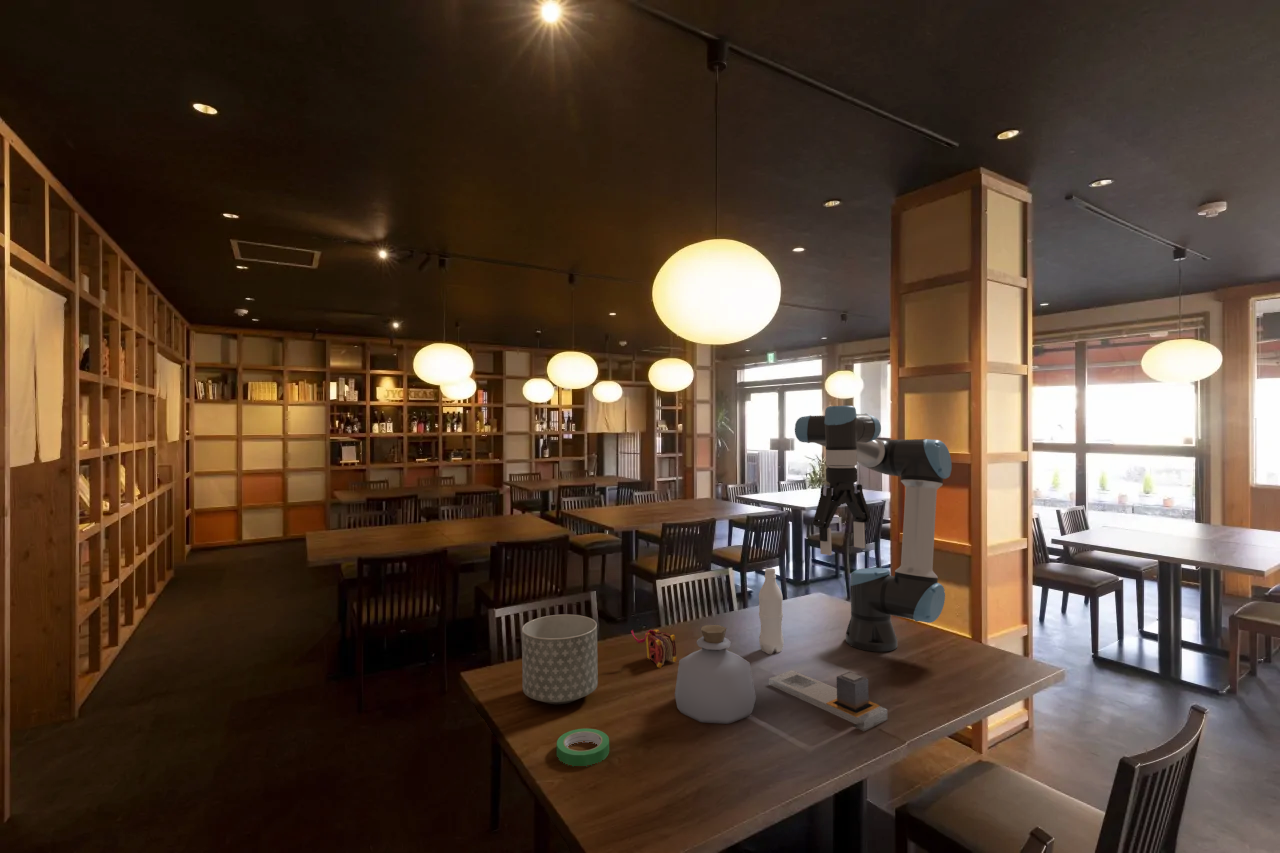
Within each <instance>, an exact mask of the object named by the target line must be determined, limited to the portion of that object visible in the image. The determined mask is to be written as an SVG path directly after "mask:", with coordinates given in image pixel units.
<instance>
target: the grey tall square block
mask: <svg viewBox="0 0 1280 853" xmlns="http://www.w3.org/2000/svg"><path fill="white" fill-rule="evenodd" d="M836 688H837V705H839V706H841V707H843V708H845V709H848V710H850V711H852V712H855V713H858V712H860V711H862V710H865V709H867V708H869V701H870V700H869V678H868V677H866V676H863V675H860V674H857V673H855V672H852V671H847V672H844V673H843V674H840V675H838V676H836Z"/></svg>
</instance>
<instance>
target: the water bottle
mask: <svg viewBox="0 0 1280 853" xmlns="http://www.w3.org/2000/svg"><path fill="white" fill-rule="evenodd" d="M764 573H765V574H764V582H763V584H762V585H761V586H762V587H761V588H760V590H759V593H758V599H759V600H758V604H759V606H758V608H759V610H758V611H759V612H758V616H759V619H760V620H759V621H760V633H759V639H758V640H759V647H760V650H761V651H762V652H763V653H765V654H767V655H773V653H775V654H777V653H781V652H782V650H783V648H784V645H785V644H784V640H785V639H784V635H783V628H782V626H783V617H784V611H783V597H784V596H783V593H782V590H781V588H780V587H779V584H778V583H777V581H776V578H777V576H776V569H775V568H769V567H768V568H765V570H764Z"/></svg>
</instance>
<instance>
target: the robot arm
mask: <svg viewBox="0 0 1280 853" xmlns="http://www.w3.org/2000/svg"><path fill="white" fill-rule="evenodd" d="M794 425H795V426H794V435H795V437H796V440H798V441H799V442H800V443H806V444H810V443H811V444H812V443H814V444H818V445H820V446H822V447H825V465H826V466H828V467H826V468H825V481H826V482H827V483H829V487H828V486H827V487H826V486H821V487H820V493H819V494H820V496H819V500H818V503H817V507H816V509H815V514H814V517H813V520H812V525H813V526H814V527H816V528H818V529H819V530H818V531H819V533H818V534H819V537H818V538H819V539H818V540H819V542H820V547H819V550H820V554H821V555H826V556H832V555H833V553H832V550H833V548H832V527H830V525H831V522H832V520H833V519H834V517H835V514H836V513H837V510H838V508H839V507H840V506H842V505H844V504H845V505H846V506H847V508H848V509H849V511H850V513H851V515H852V516H853V518H854V520H855V521H853V547H854V548H858V549H865V548H866V543H865V542H866V541H865V540H866V539H865V534H866V524H865V523H869V521H870V519H871V513H870V511H869V508H868V504H867V502H866V499H865V496H864V493H863V491H864V490H863V485H862V484H860V483H859V484H858V483H857V482H858V468H857V467H856V466H857V465H858V464H859V465H861V466H862V467H865V468H867V469H868V470H872V471H875V472H877V473H880V474H883V475H886V476H887V475H888V476H892V477H893V476H894V477H900V483H902V484H903V486H904V488H905V495H904V506H903V507H904V508H903V510H904V511H903V512H904V513H903V526H902V543H901V557H900V558H901V559H900V560H901V561H900V562H901V563H900V566H899V567H898V568H896V569H895V570H894V575H891V571H890V570H889V569H887V568H884V567H868V568H867V567H866V568H861V569H860V568H859V569H856V570H853V571H852V572H851V573H850V579H849V580H850V581H849V582H850V583H849V588H850V619H849V621H848V625H847V628H846V631H845V642H846V643H847V644H848V646H851V647H853V648H855V649H859V650H862V651H868V652H876V653H877V652H879V653H882V652H883V653H884V652H891V651H893V650H896V649H897V648H898V637H897V635H896V631H895V629H894V626H893V624H892V623H893V622H892V619H891V618H892V617H891V616H893V617H899V618H903V619H907V620H911V621H912V620H913V621H914V622H920V623H921V622H922V623H926V624H927V623H929V624H931V623H933V622H935V621H936V620H937V619H938V618H939V617H940V615H941V613H942V612H943V608H944V605H945V601H946V593H945V587H944V586H943V585H942V584H941V583H939V582H938V580H939V578H938V577H939V576H938V575H937V574H936V573H935V571H934V569H933V566H934V565H933V564H934V550H935V547H934V546H935V530H936V512H937V511H936V510H937V509H936V508H937V495H938V490H939V488H941V487H942V486H943V483H944V480H946V479H948V478H949V477H951V473H952V469H953V468H952V467H953V466H952V464H953V463H952V458H951V454H950V451H949V448H948V446H947V445H946V444H945V442H943V441H942V440H940V439H929V438H924V439H923V438H922V439H878V437H879V436H880V435H881V431H882V426H881V422H880V420H879V419H878V417H876V416H874V415H872V414H868V413H861V414H860V413H857V410H856V407H855V406H854V405H831V406H830V405H829V406H827V407H826V408H825V410H824V415H807V416H800V417H799V418H797V419H796V422H795V424H794Z"/></svg>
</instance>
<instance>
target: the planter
mask: <svg viewBox="0 0 1280 853" xmlns="http://www.w3.org/2000/svg"><path fill="white" fill-rule="evenodd" d="M597 626H598V623H597V621H595V619H593V618H591V617H588V616H583V615H580V614H553V615H546V616H542V617H538V618H535V619H532V620H531V619H530V621H527V622H526V623H525V624H523V626H522V628H521V650H522V651H521V652H522V654H521V655H522V656H521V657H522V659H521V662H522V663H521V664H522V667H521V668H522V669H521V670H522V692H523V694H524V695H525V696H527V697H528V698H530V699H532V700H534V701H538V702H543V703H546V704H548V705H549V704H551V705H565V704H569V703H572V702H575V701H578V700H580V699H581V698H585V697H586V696H589V695H590V694H592V693H593V692H594V691H595V690H596V689H597V687H598V684H599V681H598V680H599V677H598V676H599V675H598V672H599V671H598V627H597Z"/></svg>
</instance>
